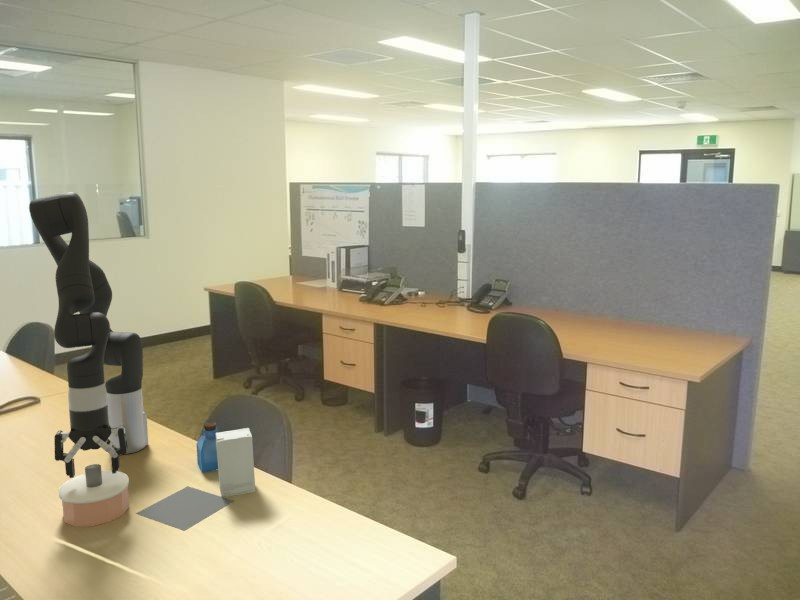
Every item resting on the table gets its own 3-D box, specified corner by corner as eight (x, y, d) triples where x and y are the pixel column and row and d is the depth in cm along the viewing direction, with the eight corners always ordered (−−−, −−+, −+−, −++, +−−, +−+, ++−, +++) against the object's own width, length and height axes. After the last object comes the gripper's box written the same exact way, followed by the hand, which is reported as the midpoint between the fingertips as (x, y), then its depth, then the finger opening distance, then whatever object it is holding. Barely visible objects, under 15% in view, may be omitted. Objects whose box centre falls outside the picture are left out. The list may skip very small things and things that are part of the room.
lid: (102, 473, 148) (100, 449, 147) (142, 486, 142) (141, 462, 141) (45, 497, 136) (42, 472, 135) (86, 513, 130) (84, 487, 129)
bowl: (103, 494, 149) (101, 471, 148) (141, 507, 142) (139, 483, 141) (51, 519, 137) (48, 493, 136) (89, 534, 131) (87, 507, 130)
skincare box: (252, 483, 155) (250, 426, 152) (256, 494, 149) (254, 435, 147) (217, 489, 152) (215, 430, 149) (219, 500, 146) (216, 440, 144)
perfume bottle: (201, 475, 159) (199, 430, 158) (197, 465, 165) (195, 422, 163) (226, 470, 162) (224, 426, 160) (221, 461, 168) (219, 418, 166)
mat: (187, 488, 152) (187, 486, 152) (234, 503, 145) (234, 500, 145) (135, 515, 139) (135, 513, 139) (184, 533, 132) (184, 530, 132)
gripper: (47, 412, 130) (53, 485, 133) (121, 406, 134) (126, 477, 137) (55, 401, 137) (61, 471, 140) (126, 396, 141) (130, 463, 144)
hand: (93, 474), depth 138 cm, fingers open, 8 cm apart
